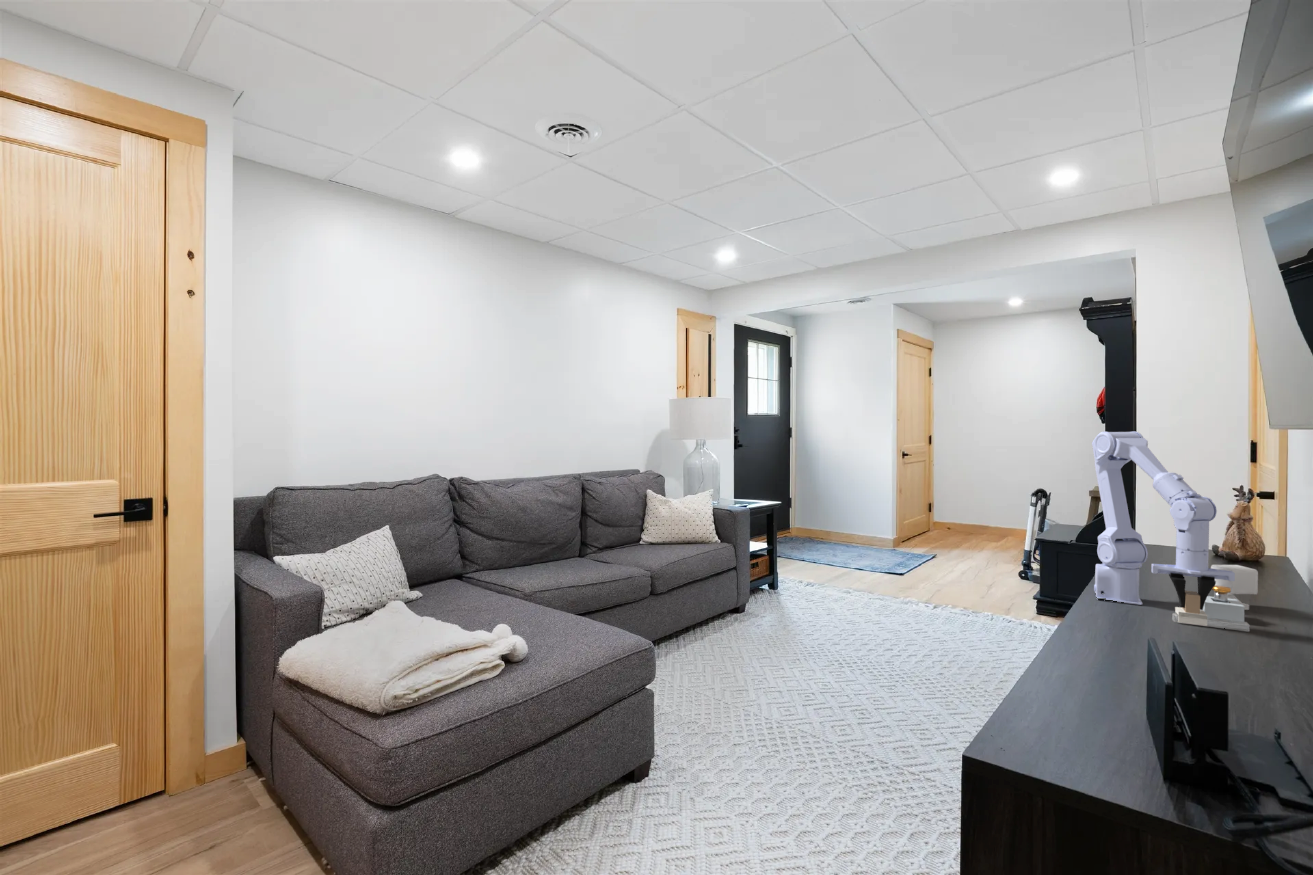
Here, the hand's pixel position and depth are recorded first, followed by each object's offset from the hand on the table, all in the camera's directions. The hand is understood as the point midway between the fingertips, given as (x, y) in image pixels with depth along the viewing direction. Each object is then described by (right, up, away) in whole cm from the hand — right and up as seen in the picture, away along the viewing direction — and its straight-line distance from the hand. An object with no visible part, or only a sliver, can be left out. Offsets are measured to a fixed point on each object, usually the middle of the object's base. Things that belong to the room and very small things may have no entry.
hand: (1191, 607), depth 145 cm
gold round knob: (+11, -1, +4) cm, 11 cm away
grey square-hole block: (+11, -4, +4) cm, 12 cm away
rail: (+3, -4, -2) cm, 5 cm away
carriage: (0, -4, 0) cm, 4 cm away
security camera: (+21, -3, +13) cm, 25 cm away
